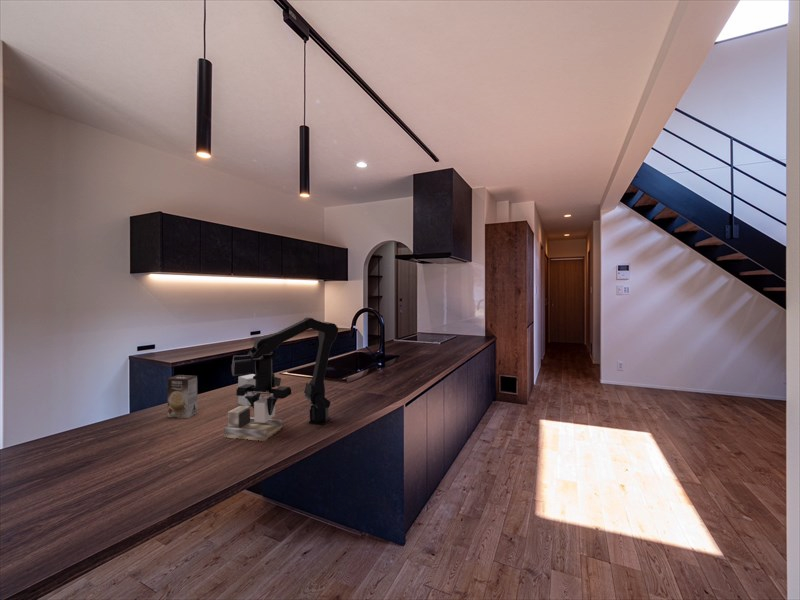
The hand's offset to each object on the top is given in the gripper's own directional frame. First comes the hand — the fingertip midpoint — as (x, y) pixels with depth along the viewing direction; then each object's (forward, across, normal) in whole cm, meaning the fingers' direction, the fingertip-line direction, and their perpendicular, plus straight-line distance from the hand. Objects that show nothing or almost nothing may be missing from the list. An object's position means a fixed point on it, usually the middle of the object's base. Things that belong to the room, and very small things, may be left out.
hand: (264, 414), depth 126 cm
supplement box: (+7, +25, -29) cm, 39 cm away
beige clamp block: (+7, +4, 0) cm, 8 cm away
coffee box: (+7, +43, -10) cm, 45 cm away
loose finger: (+2, 0, 0) cm, 2 cm away
